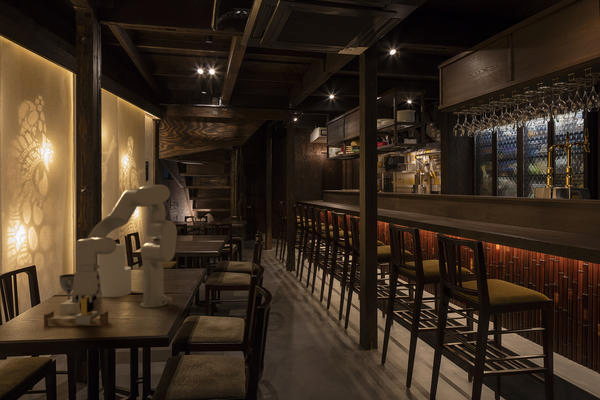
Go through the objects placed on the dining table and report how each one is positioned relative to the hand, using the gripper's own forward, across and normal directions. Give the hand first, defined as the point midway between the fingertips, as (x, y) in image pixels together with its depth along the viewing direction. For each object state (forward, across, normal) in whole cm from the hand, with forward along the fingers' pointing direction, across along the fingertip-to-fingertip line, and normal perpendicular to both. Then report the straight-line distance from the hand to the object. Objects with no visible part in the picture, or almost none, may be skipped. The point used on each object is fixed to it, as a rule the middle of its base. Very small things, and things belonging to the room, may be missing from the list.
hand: (86, 310), depth 174 cm
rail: (+6, +4, 0) cm, 7 cm away
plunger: (+2, +10, -11) cm, 15 cm away
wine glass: (+6, +24, -31) cm, 40 cm away
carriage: (+6, 0, 0) cm, 6 cm away
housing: (+6, +10, -11) cm, 16 cm away
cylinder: (+6, +12, -56) cm, 58 cm away
